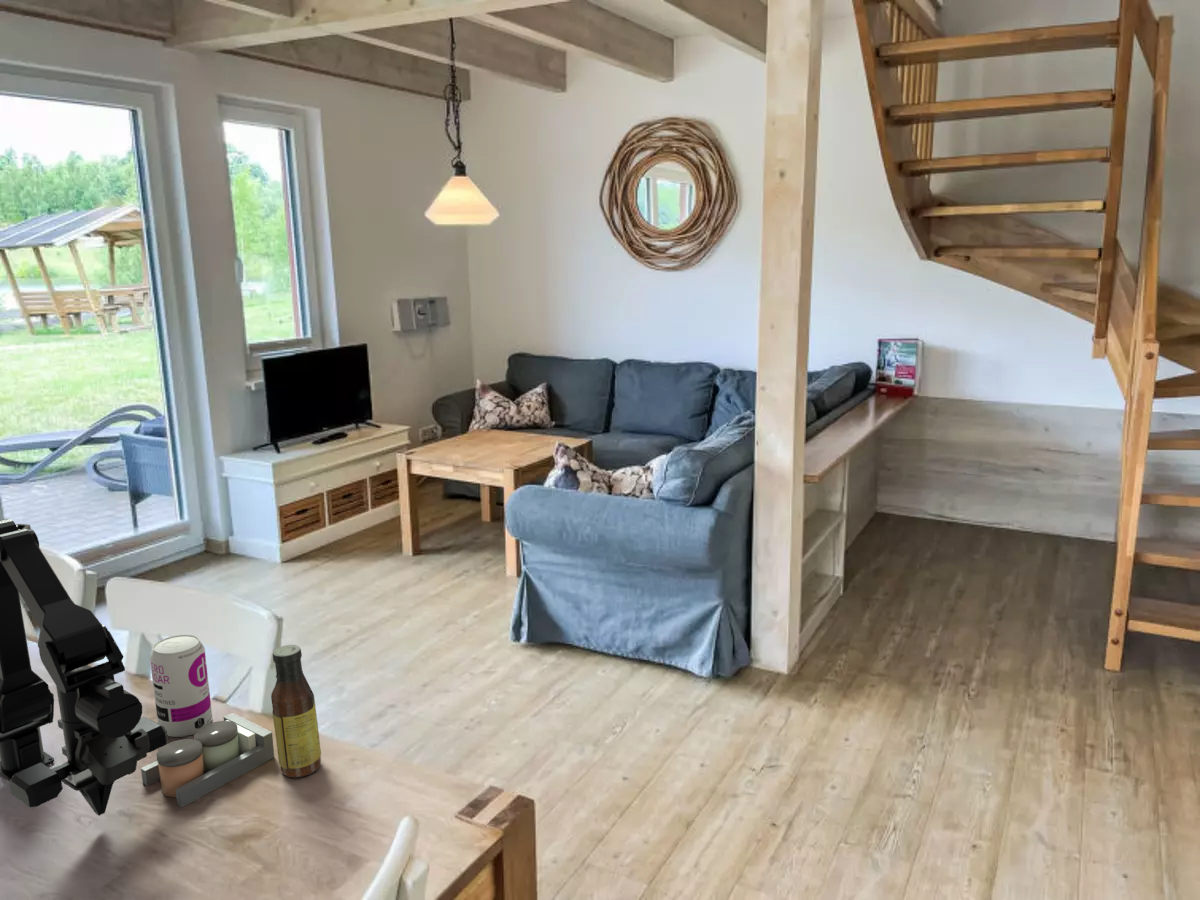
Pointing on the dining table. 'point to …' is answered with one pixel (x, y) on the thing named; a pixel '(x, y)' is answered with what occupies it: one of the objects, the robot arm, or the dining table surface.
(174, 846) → the dining table surface
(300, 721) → the sauce bottle
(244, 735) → the bar
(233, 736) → the jar sage
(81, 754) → the robot arm
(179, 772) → the jar terracotta
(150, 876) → the dining table surface
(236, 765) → the lane
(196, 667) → the supplement can
